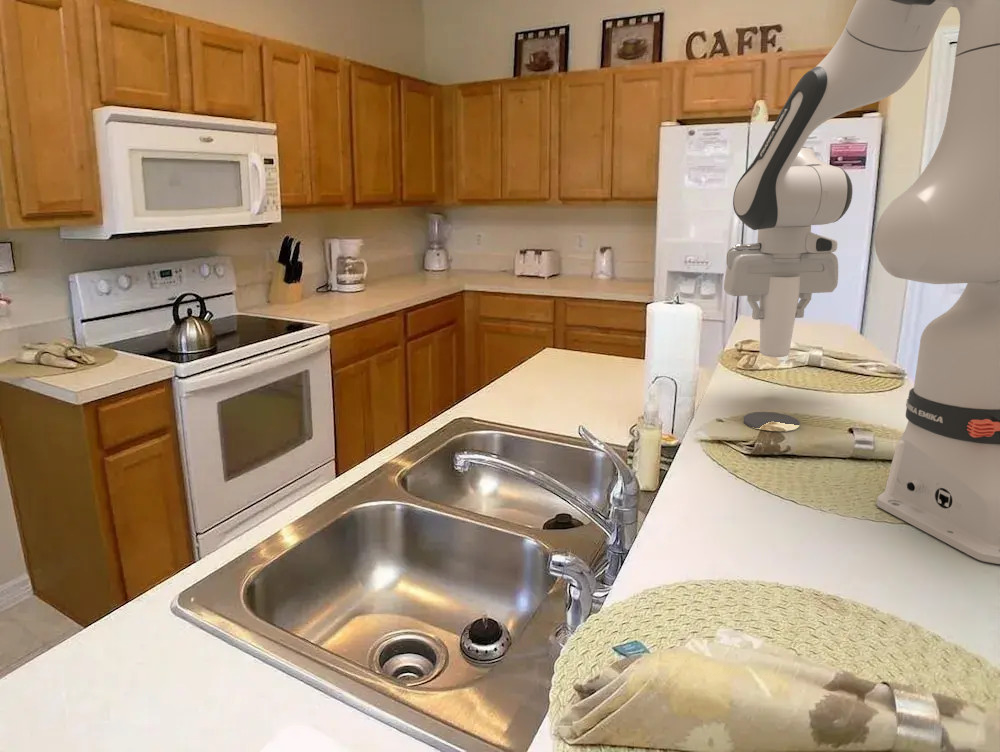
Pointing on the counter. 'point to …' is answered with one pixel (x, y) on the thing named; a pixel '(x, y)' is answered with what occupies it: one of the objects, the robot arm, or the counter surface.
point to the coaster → (768, 419)
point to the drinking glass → (778, 316)
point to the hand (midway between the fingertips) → (777, 318)
